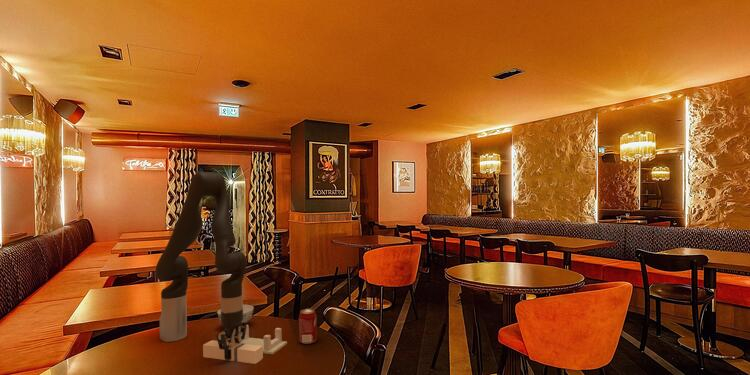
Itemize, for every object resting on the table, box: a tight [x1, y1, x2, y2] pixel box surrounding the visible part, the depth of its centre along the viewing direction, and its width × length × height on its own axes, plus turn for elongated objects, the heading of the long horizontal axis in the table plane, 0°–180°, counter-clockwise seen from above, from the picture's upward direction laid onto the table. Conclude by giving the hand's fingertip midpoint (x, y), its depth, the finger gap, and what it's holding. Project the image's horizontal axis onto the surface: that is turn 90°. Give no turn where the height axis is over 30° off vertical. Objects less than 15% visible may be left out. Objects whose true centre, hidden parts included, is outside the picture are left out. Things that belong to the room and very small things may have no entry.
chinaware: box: [216, 304, 254, 323], centre depth 167 cm, size 15×15×8 cm
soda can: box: [298, 308, 318, 345], centre depth 148 cm, size 7×7×12 cm
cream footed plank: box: [232, 324, 288, 355], centre depth 145 cm, size 21×10×6 cm, turn 73°
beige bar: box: [202, 340, 264, 365], centre depth 135 cm, size 22×4×4 cm, turn 73°
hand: (232, 356), depth 135 cm, fingers closed on beige bar, 4 cm apart
